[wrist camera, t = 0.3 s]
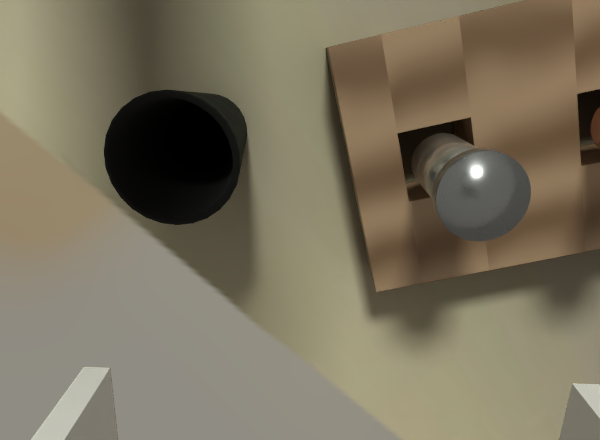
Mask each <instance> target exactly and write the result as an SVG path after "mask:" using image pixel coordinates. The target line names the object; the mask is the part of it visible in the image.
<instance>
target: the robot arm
mask: <svg viewBox="0 0 600 440" xmlns="http://www.w3.org/2000/svg"><path fill="white" fill-rule="evenodd" d="M31 440H118V436H117V425H116V416H115V407H114V397H113V388H112V379H111V370H110V368H108V367H83V368H82V370H81V371H80V372H79V374H78V375H77V377H76V378H75V379H74V381H73V382H72V383H71V385H70V386H69V388H68V389H67V390H66V392H65V393H64V394H63V396H62V397H61V399H60V400H59V401H58V403H57V404H56V406H55V407H54V408H53V410H52V411H51V413H50V414H49V415H48V417H47V418H46V419H45V421H44V422H43V423H42V425H41V426H40V428H39V429H38V430H37V432H36V433H35V435H34V436H33V437H32V439H31ZM559 440H600V385H599V384H572V386H571V391H570V395H569V399H568V404H567V408H566V412H565V417H564V421H563V425H562V430H561V434H560V438H559Z"/></svg>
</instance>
